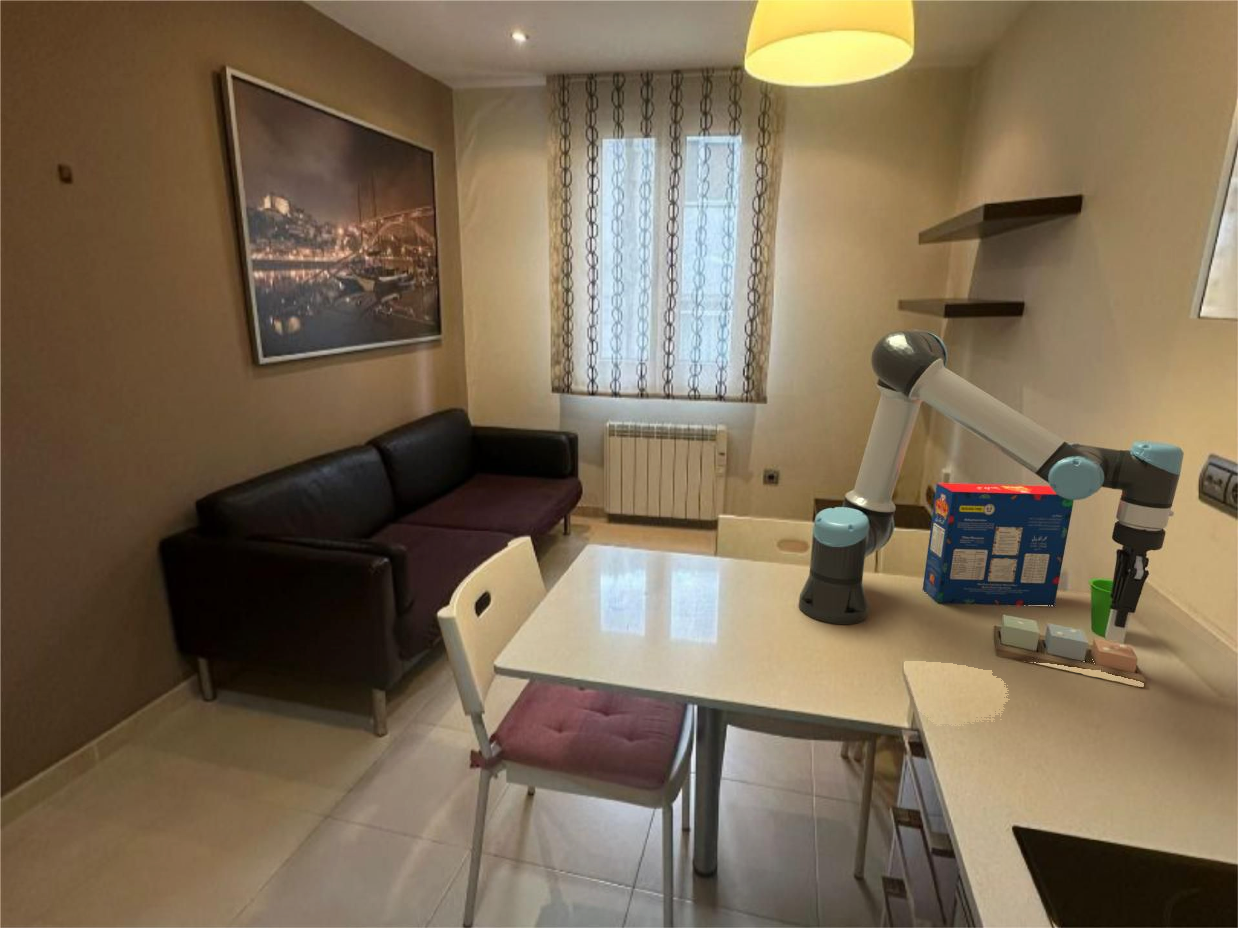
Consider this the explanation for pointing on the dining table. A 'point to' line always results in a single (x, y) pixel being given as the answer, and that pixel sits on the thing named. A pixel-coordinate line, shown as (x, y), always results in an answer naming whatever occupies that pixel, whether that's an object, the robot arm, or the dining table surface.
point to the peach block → (1113, 655)
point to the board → (1056, 657)
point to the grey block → (1065, 642)
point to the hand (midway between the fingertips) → (1114, 639)
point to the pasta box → (996, 544)
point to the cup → (1100, 604)
